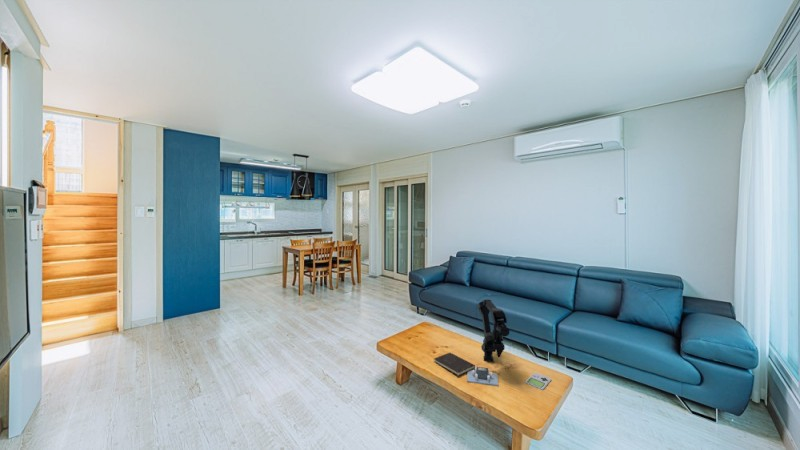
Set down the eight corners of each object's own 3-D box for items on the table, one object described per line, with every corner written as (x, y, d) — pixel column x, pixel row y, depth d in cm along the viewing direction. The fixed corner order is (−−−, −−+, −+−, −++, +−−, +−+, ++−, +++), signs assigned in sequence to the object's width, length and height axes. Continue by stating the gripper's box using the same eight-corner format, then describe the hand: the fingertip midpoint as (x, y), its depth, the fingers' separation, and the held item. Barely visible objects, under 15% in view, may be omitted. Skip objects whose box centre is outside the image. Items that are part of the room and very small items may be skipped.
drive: (476, 374, 175) (476, 366, 175) (488, 375, 174) (488, 367, 173) (476, 378, 171) (476, 370, 171) (488, 380, 169) (488, 371, 169)
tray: (467, 371, 180) (467, 364, 180) (496, 375, 176) (496, 368, 176) (467, 381, 169) (467, 374, 169) (498, 386, 164) (498, 379, 164)
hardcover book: (458, 376, 173) (457, 372, 173) (433, 361, 192) (433, 358, 192) (475, 368, 182) (475, 364, 182) (450, 355, 201) (450, 352, 201)
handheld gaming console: (551, 378, 170) (542, 388, 160) (551, 380, 170) (542, 391, 160) (534, 371, 177) (525, 381, 167) (534, 373, 178) (525, 383, 167)
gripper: (484, 323, 190) (484, 345, 190) (485, 334, 172) (485, 359, 172) (501, 324, 187) (501, 347, 187) (504, 336, 169) (504, 361, 169)
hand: (497, 353), depth 179 cm, fingers open, 9 cm apart
